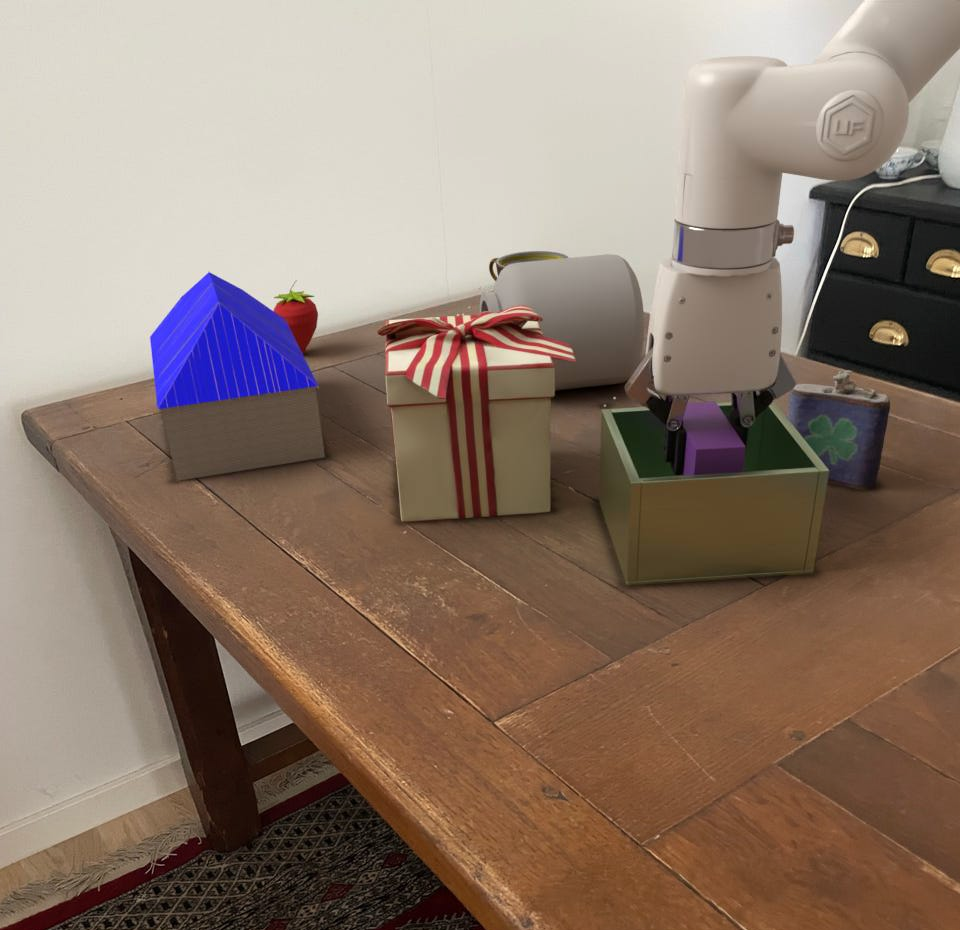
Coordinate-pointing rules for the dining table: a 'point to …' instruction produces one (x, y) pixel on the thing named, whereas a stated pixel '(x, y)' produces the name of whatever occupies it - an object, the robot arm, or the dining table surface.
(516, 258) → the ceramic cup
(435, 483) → the gift box
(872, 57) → the robot arm
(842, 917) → the dining table surface
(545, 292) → the jar
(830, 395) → the flask
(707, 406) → the purple block
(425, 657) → the dining table surface
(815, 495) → the open box
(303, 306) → the strawberry
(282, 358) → the house
